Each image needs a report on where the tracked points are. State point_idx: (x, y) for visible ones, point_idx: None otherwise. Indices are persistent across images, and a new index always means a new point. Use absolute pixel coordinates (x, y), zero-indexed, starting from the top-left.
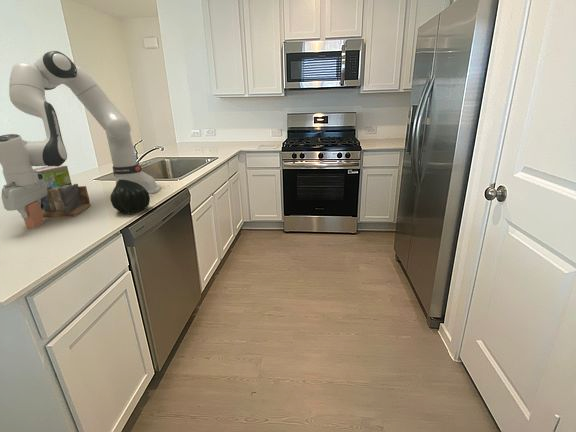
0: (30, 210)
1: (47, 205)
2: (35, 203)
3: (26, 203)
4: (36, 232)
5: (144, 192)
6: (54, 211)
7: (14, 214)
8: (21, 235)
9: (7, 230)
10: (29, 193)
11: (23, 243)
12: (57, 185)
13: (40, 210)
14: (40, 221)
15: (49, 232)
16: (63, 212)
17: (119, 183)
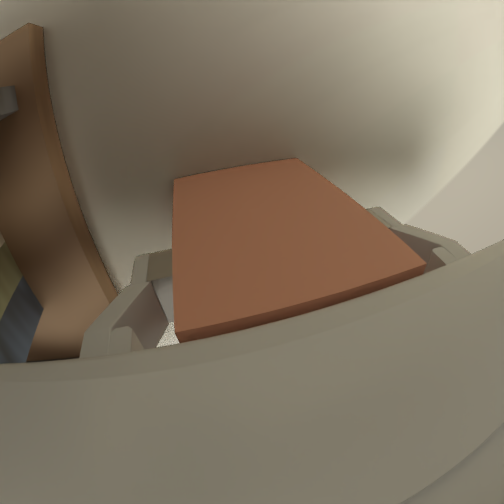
0: (370, 224)
1: (14, 320)
2: (257, 294)
3: (478, 269)
4: (383, 91)
5: None
6: (18, 245)
7: None
8: (407, 154)
9: None
10: (470, 445)
11: (476, 88)
12: None
13: (180, 229)
14: (223, 176)
15: (389, 13)
16: (16, 142)
17: None
